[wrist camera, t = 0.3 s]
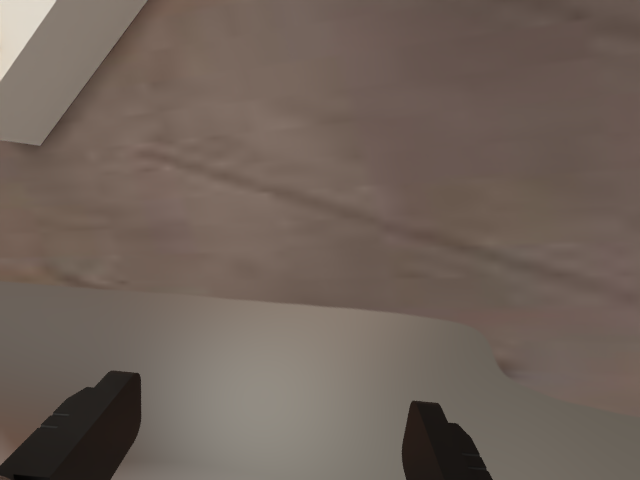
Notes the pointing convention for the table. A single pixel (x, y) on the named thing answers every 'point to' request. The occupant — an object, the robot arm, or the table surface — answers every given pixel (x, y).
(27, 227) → the table surface
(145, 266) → the table surface
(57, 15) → the switch box
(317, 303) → the table surface
